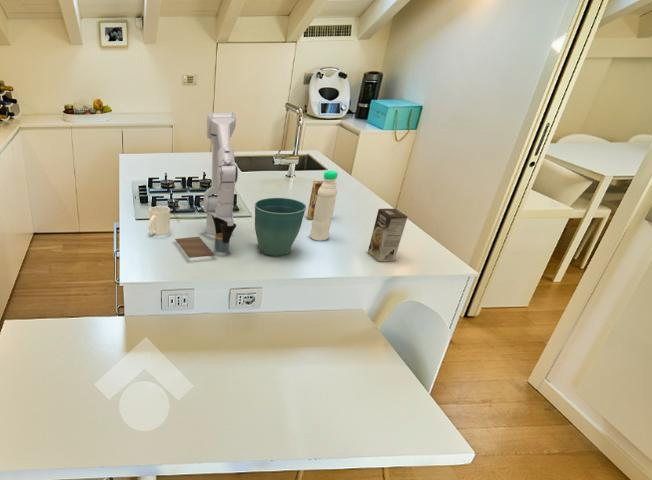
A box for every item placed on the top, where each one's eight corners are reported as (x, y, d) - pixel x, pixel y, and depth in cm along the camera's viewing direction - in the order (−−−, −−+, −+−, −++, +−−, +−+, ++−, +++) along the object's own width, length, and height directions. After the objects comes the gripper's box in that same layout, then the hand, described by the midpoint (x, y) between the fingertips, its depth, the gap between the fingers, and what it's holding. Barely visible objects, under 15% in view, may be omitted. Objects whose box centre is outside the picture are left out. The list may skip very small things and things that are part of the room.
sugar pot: (222, 249, 193) (223, 229, 188) (231, 253, 189) (233, 234, 185) (210, 252, 191) (212, 232, 186) (220, 257, 187) (221, 237, 182)
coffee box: (366, 252, 188) (377, 208, 179) (383, 251, 189) (395, 207, 179) (377, 261, 181) (390, 216, 171) (395, 261, 181) (408, 215, 172)
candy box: (308, 219, 219) (314, 183, 210) (306, 216, 222) (312, 180, 213) (329, 219, 218) (336, 183, 209) (327, 216, 222) (334, 180, 213)
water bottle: (328, 235, 203) (341, 170, 188) (327, 241, 197) (341, 174, 183) (310, 234, 205) (321, 168, 190) (308, 240, 199) (320, 173, 185)
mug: (158, 242, 200) (158, 216, 194) (140, 238, 204) (140, 213, 197) (173, 233, 208) (173, 208, 202) (156, 229, 212) (156, 205, 205)
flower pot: (289, 263, 181) (296, 216, 171) (242, 254, 189) (246, 208, 179) (304, 247, 193) (312, 202, 183) (260, 239, 201) (265, 195, 191)
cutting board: (174, 242, 200) (174, 238, 199) (199, 240, 201) (199, 236, 200) (188, 261, 184) (188, 257, 183) (214, 259, 185) (215, 255, 184)
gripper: (208, 196, 184) (206, 233, 192) (221, 208, 172) (218, 247, 180) (226, 195, 185) (223, 231, 193) (240, 206, 173) (237, 245, 182)
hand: (222, 238), depth 187 cm, fingers open, 7 cm apart
